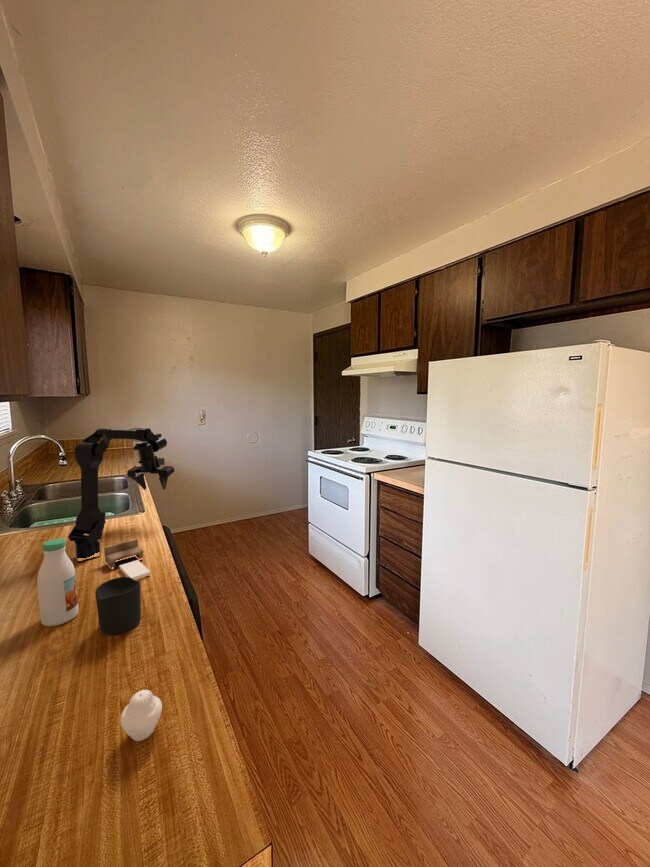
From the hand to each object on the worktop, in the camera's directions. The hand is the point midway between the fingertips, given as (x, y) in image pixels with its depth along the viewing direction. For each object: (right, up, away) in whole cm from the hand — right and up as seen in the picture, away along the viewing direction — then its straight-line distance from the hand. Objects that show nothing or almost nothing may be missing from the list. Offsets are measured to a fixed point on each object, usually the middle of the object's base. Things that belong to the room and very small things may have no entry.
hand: (155, 489), depth 157 cm
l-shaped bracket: (+8, -19, -37) cm, 42 cm away
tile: (+14, -20, -43) cm, 50 cm away
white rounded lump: (+44, -25, -98) cm, 110 cm away
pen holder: (+25, -23, -69) cm, 77 cm away
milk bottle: (+8, -22, -67) cm, 71 cm away
